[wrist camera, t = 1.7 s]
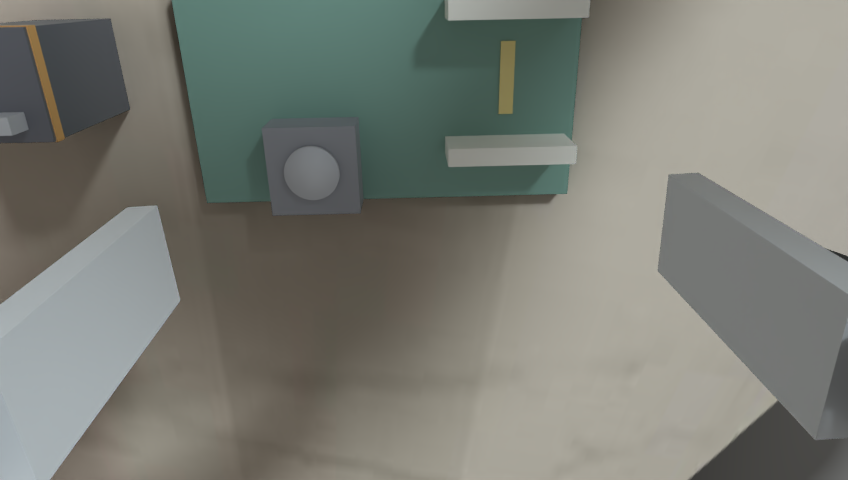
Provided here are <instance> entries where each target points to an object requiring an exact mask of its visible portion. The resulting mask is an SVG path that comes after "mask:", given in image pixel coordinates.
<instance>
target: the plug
mask: <svg viewBox="0 0 848 480" xmlns="http://www.w3.org/2000/svg"><path fill="white" fill-rule="evenodd" d="M127 110H130V107H129V102H128V98H127V93H126V88H125V84H124V79H123V74H122V70H121V65H120V60H119V56H118V51H117V47H116V42H115V37H114V33H113V28H112V23H111V19H67V20H32V21H20V22H8V23H0V143H36V142H59V141H62V140H64V139H65V137H67V136H69V135H72V134H74V133H76V132H79V131H81V130H83V129H86V128H88V127H90V126H93V125H95V124H97V123H100V122H102V121H104V120H107V119H109V118H111V117H114V116H116V115H118V114H120V113H123V112H125V111H127Z"/></svg>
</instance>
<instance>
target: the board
mask: <svg viewBox="0 0 848 480" xmlns="http://www.w3.org/2000/svg"><path fill="white" fill-rule="evenodd" d="M172 5H173V11H174V16H175V22H176V28H177V34H178V39H179V45H180V51H181V56H182V62H183V68H184V74H185V79H186V85H187V91H188V97H189V102H190V108H191V114H192V119H193V125H194V131H195V137H196V142H197V148H198V154H199V159H200V165H201V171H202V177H203V182H204V188H205V194H206V199H207V203H221V202H261V201H271V206H272V214H273V216H277V215H315V214H354V213H361V209H362V204H363V199H379V198H419V197H458V196H498V195H537V194H567V189H568V177H569V165H570V164H576V157H577V145H576V144H575V143H574V142H573V141H572V130H573V118H574V106H575V94H576V82H577V71H578V59H579V47H580V35H581V23H582V18H589V11H590V0H172Z"/></svg>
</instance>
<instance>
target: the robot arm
mask: <svg viewBox="0 0 848 480" xmlns="http://www.w3.org/2000/svg"><path fill="white" fill-rule="evenodd" d="M658 272H659V273H660V274H661V275H662V276H663V277H664V278H665V279H666V280H667V281H668V283H669V284H670V285H671V286H672V287H673V288H674V289H675V290H676V291H677V292H678V293H679V294H680V295H681V296H682V298H683V299H684V300H685V301H686V302H687V303H688V304H689V305H690V306H691V307H692V308H693V309H694V310H695V312H696V313H697V314H698V315H699V316H700V317H701V318H702V319H703V320H704V321H705V322H706V323H707V324H708V325H709V327H710V328H711V329H712V330H713V331H714V332H715V333H716V334H717V335H718V336H719V337H720V338H721V339H722V340H723V342H724V343H725V344H726V345H727V346H728V347H729V348H730V349H731V350H732V351H733V352H734V353H735V354H736V356H737V357H738V358H739V359H740V360H741V361H742V362H743V363H744V364H745V365H746V366H747V367H748V368H749V369H750V371H751V372H752V373H753V374H754V375H755V376H756V377H757V378H758V379H759V380H760V381H761V382H762V383H763V384H764V386H765V387H766V388H767V389H768V390H769V391H770V392H771V393H772V394H773V395H774V396H775V397H776V398H777V400H778V401H779V402H780V403H781V404H782V405H783V406H784V407H785V408H786V409H787V410H788V411H789V412H790V413H791V414H792V416H793V417H794V418H795V419H796V420H797V421H798V422H799V423H800V424H801V425H802V426H803V427H804V428H805V430H807V432H808V433H809V434H810V435H811V436H812V437H813V438H814V439H815V440H822V439H836V438H837V439H838V438H848V257H847V256H845V255H843V254H840V253H837V252H834V251H831V250H828V249H826V248H824V247H822V246H821V245H819V244H817V243H816V242H814V241H812V240H811V239H809V238H807V237H805V236H804V235H802V234H800V233H799V232H797V231H795V230H794V229H792V228H790V227H789V226H787V225H785V224H784V223H782V222H780V221H779V220H777V219H775V218H774V217H772V216H770V215H768V214H767V213H765V212H763V211H762V210H760V209H758V208H757V207H755V206H753V205H752V204H750V203H748V202H747V201H745V200H743V199H742V198H740V197H738V196H737V195H735V194H733V193H731V192H730V191H728V190H726V189H725V188H723V187H721V186H720V185H718V184H716V183H715V182H713V181H711V180H710V179H708V178H706V177H705V176H703V175H701V174H700V173H685V174H669V176H668V185H667V194H666V202H665V211H664V220H663V228H662V237H661V246H660V254H659V263H658ZM179 302H180V297H179V293H178V288H177V284H176V280H175V276H174V272H173V268H172V264H171V260H170V256H169V251H168V247H167V243H166V239H165V235H164V231H163V227H162V223H161V219H160V214H159V210H158V206H157V205H156V206H139V207H127V208H125V209H124V210H123V211H122V212H120V213H119V214H118V215H116V216H115V217H114V218H112V219H111V220H110V221H108V222H107V223H106V224H105V225H103V226H102V227H101V228H99V229H98V230H97V231H95V232H94V233H93V234H92V235H90V236H89V237H88V238H86V239H85V240H84V241H82V242H81V243H80V244H78V245H77V246H76V247H75V248H73V249H72V250H71V251H69V252H68V253H67V254H65V255H64V256H63V257H61V258H60V259H59V260H58V261H56V262H55V263H54V264H52V265H51V266H50V267H48V268H47V269H46V270H45V271H43V272H42V273H41V274H39V275H38V276H37V277H35V278H34V279H33V280H31V281H30V282H29V283H28V284H26V285H25V286H24V287H22V288H21V289H20V290H18V291H17V292H16V293H15V294H13V295H12V296H11V297H9V298H8V299H7V300H5V301H4V302H3V303H1V304H0V480H50V479H51V478H52V476H53V475H54V473H55V472H56V471H57V469H58V468H59V467H60V465H61V464H62V462H63V461H64V460H65V458H66V457H67V456H68V454H69V453H70V451H71V450H72V449H73V447H74V446H75V445H76V443H77V442H78V441H79V439H80V438H81V436H82V435H83V434H84V432H85V431H86V430H87V428H88V427H89V425H90V424H91V423H92V421H93V420H94V419H95V417H96V416H97V414H98V413H99V412H100V410H101V409H102V408H103V406H104V405H105V403H106V402H107V401H108V399H109V398H110V397H111V395H112V394H113V392H114V391H115V390H116V388H117V387H118V386H119V384H120V383H121V382H122V380H123V379H124V377H125V376H126V375H127V373H128V372H129V371H130V369H131V368H132V366H133V365H134V364H135V362H136V361H137V360H138V358H139V357H140V355H141V354H142V353H143V351H144V350H145V349H146V347H147V346H148V344H149V343H150V342H151V340H152V339H153V338H154V336H155V335H156V333H157V332H158V331H159V329H160V328H161V327H162V325H163V324H164V323H165V321H166V320H167V318H168V317H169V316H170V314H171V313H172V312H173V310H174V309H175V307H176V306H177V305H178V303H179Z"/></svg>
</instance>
